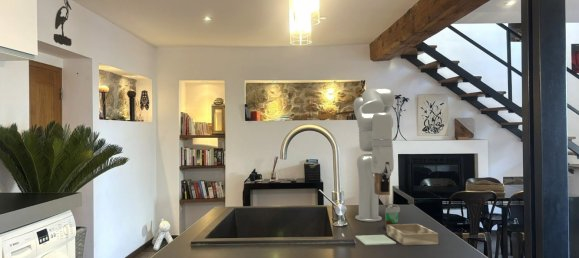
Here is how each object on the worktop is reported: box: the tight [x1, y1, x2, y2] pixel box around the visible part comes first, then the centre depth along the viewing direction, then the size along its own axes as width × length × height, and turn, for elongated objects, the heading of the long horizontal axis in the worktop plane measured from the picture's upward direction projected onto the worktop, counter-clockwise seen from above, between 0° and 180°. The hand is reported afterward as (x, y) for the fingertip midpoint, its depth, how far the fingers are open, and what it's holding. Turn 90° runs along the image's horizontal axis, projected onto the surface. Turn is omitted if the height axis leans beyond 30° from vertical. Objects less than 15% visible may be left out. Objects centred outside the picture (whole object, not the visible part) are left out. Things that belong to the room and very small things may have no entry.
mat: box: [355, 234, 397, 246], centre depth 157 cm, size 12×12×1 cm
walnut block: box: [373, 173, 391, 196], centre depth 158 cm, size 4×4×8 cm
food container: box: [384, 203, 401, 232], centre depth 177 cm, size 12×6×10 cm, turn 168°
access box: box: [386, 223, 439, 246], centre depth 160 cm, size 17×14×4 cm
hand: (381, 190), depth 158 cm, fingers closed on walnut block, 4 cm apart
